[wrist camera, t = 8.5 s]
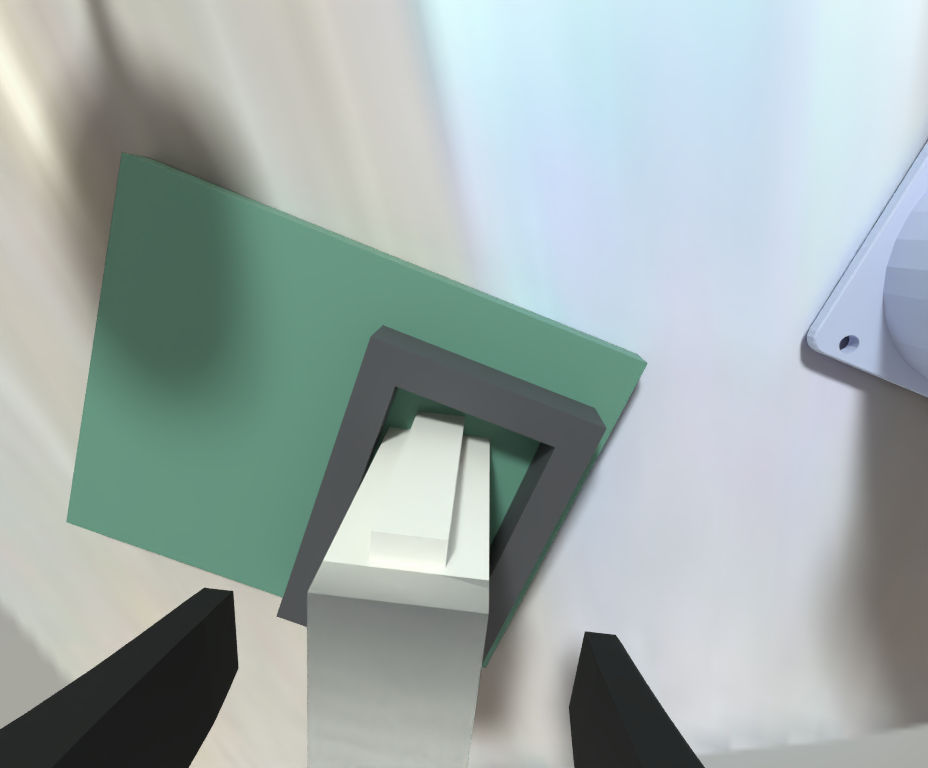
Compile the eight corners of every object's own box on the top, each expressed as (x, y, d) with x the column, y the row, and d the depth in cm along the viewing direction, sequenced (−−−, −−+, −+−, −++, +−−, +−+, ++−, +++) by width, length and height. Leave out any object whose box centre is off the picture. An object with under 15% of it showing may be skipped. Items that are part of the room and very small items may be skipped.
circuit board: (637, 354, 15) (665, 379, 12) (485, 644, 18) (485, 707, 16) (147, 157, 14) (75, 143, 11) (89, 505, 17) (26, 550, 15)
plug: (473, 563, 16) (462, 802, 9) (382, 553, 16) (307, 783, 10) (491, 419, 15) (492, 583, 8) (390, 408, 15) (306, 562, 8)
